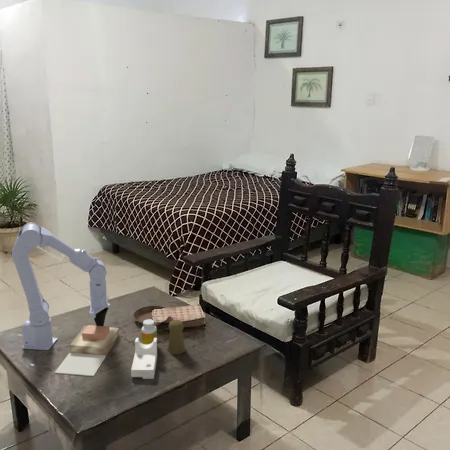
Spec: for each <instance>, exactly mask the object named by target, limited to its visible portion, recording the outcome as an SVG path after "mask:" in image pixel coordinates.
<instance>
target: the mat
mask: <svg viewBox="0 0 450 450" xmlns="http://www.w3.org/2000/svg"><path fill="white" fill-rule="evenodd" d="M106 358H107V355H94V354H81V353H70V352H69V353H68V354H67V355H66V357H65V358H64V359H63V361H62V362H61V363H60V364H59V366H58V367H57V369H55V371H54V374H57V375H58V374H61V375H70V376H71V375H72V376H86V377H95V375H96V373H97V372H98V371H99V368H100V367H101V365H102V363H103V362H104V361H105V359H106Z"/></svg>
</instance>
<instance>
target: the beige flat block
mask: <svg viewBox="0 0 450 450" xmlns="http://www.w3.org/2000/svg"><path fill="white" fill-rule="evenodd" d="M87 326H88V325H84V326H83V327H82V329H81V330H80V332H79V333H77V334H76V336H75V338H74V339H73V340H72V341H71V343H70V344H69V353H80V354H93V355H106V356H108V354H109V353H110V351H111V350H112V347H113V346H114V345H115V343H116V341H117V340H118V338H119V337H120V328H119V327H110V326H109V327H110V332H109V333H108V335H107V336H106V338H105V339H104V340H99V339H86V338H82V332H83V331H84V330H85V329H86V327H87Z"/></svg>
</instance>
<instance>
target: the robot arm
mask: <svg viewBox="0 0 450 450" xmlns="http://www.w3.org/2000/svg"><path fill="white" fill-rule="evenodd" d="M38 246H40V248H44V247H50V248H52V249H54V250H55V251H57V252H59V253H61V254H63V255H64V256H66V257H68V260H69V262H70V264H72V265H74V266H75V267H77V268H79V269H80V270H82V271H83V272H85V273H88V276H89V297H90V305H89V307H90V308H89V309H90V310H89V313H88V314H89V315H88V318H89V319H93V320H94V322H95V326H104V325H105V319H106V315H107V313H108V310H109V308H110V307H111V303H109V302H108V301H109V295H107V294H108V293H107V280H106V276H107V269H106V266H105V263H104V261H103V260H101V259H100V258H98V257H96V256H95V257H94V256H92V255H91V254H89V253H88V251H87V250H86V249H85V248H83V249H81V248H73V247H72V246H71V245H69V244H68V243H66V242H65V241H64V240H63V239H61V238H59V237H58V236H57V235H55V234H53V233H52V232H51V231H49V230H48V229H47V228H45V227H43V226H40V225H39V224H38V223H35V222H27V223H25V224H24V225H23V226H22V228H20V230H19V231H18V234H17V236H16V239H15V241H14V245H13V247H12V249H11V250H12V251H11V256H12V260H13V262H14V264H15V265H14V266H15V268H16V271H17V274H18V277H19V280H20V283H21V286H22V289H23V292H24V294H25V298H26V300H27V305H28V306H27V307H28V311H29V318H28V320H25V321H24V323H23V324H22V328H21V334H22V343H23V346H22V349H25V350H37V351H49V350H50V349H51V348H52V347H53V345H55V343H56V342H57V341H58V337H53V327H52V318H51V317H50V314H49V310H50V304H49V302H47V300H45V298H44V295H43V294H42V292H41V290H40V287H39V284H38V281H37V279H36V275H35V272H34V269H33V265H32V263H31V260H30V257H29V254H30V253H31V251H32V250H34V249H35V248H37V247H38Z"/></svg>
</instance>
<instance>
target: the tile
mask: <svg viewBox="0 0 450 450" xmlns="http://www.w3.org/2000/svg"><path fill="white" fill-rule="evenodd" d="M86 326H87V327H86V329H85V330H84V331H83V332H82V338H86V339H99V340H104V339H105V338H106V336H107V335H108V333H109V332H110V326H107V325H105V326H96V325H91V324H90V325H89V324H88V325H86Z"/></svg>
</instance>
